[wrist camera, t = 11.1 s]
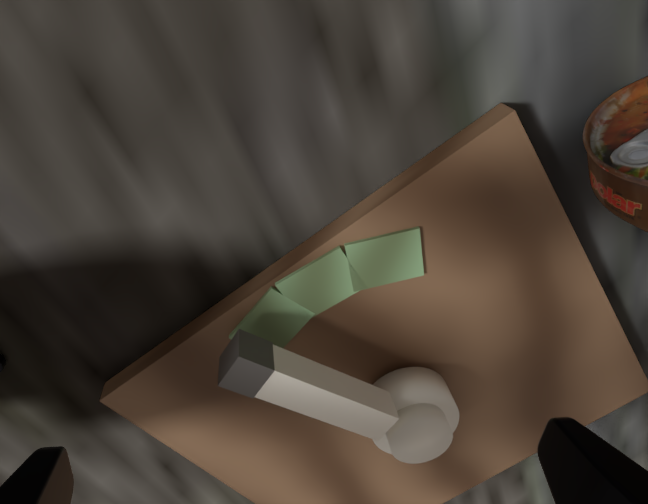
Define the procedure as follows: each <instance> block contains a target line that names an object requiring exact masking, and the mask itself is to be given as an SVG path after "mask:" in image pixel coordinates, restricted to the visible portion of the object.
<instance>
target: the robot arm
mask: <svg viewBox="0 0 648 504" xmlns="http://www.w3.org/2000/svg"><path fill="white" fill-rule="evenodd" d="M5 365H6V359H5V357H4V356H3V355H2V354H0V372H1V371H2V370H3V368H4V366H5ZM537 453H538V457H539V461H540V463H541V466H542V469H543V471H544V474H545V477H546V479H547V482H548V485H549V488H550V490H551V493H552V496H553V498H554V501H555V504H648V471H647V470H646V469H644V468H643V467H641V466H640V465H638V464H637V463H636V462H634V461H633V460H631V459H630V458H629V457H627V456H626V455H624V454H623V453H622V452H620V451H619V450H617V449H616V448H614V447H613V446H612V445H610V444H609V443H607V442H606V441H605V440H603V439H602V438H600V437H599V436H598V435H596V434H595V433H593V432H592V431H590V430H589V429H588V428H586V427H585V426H583V425H582V424H581V423H579V422H578V421H576V420H575V419H573V418H570V417H556V418H551V419H550V420H549V421H548V422H547V424H546V427H545V429H544V431H543V433H542V436H541V438H540V440H539V443H538V447H537ZM73 485H74V480H73V474H72V470H71V466H70V462H69V458H68V454H67V451H66V449H65V448H64V447H44V448H40V449H38V450H36V451H35V452H34V453H33V454H32V455H31V456H30V457H29V458H28V459H27V460H26V461H25V462H24V463H23V464H22V465H21V466H20V467H19V468H18V469H17V470H16V471H15V472H14V473H13V474H12V475H11V476H10V477H9V478H8V479H7V480H6V481H5V482H4V483H3V484H2V485H1V486H0V504H70V503H71V498H72V493H73Z"/></svg>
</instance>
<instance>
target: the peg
mask: <svg viewBox="0 0 648 504" xmlns="http://www.w3.org/2000/svg"><path fill="white" fill-rule="evenodd" d="M218 386H219V387H222V388H225V389H228V390H230V391H233V392H236V393H239V394H242V395H245V396H247V397H250V398H254V397H256V398H258V399H261V400H264V401H267V402H270V403H272V404H275V405H278V406H281V407H284V408H287V409H289V410H292V411H295V412H298V413H301V414H303V415H306V416H309V417H312V418H315V419H317V420H320V421H323V422H326V423H329V424H331V425H334V426H337V427H340V428H343V429H346V430H348V431H351V432H354V433H357V434H360V435H362V436H365V437H368V438H371V439H372V440H373V442H374V443H375V445H376V446H377V447H378V448H379V449H381V450H382V451H384V452H386V453H389V454H392V455H393V456H394V457H395V458H396V459H397V460H399V461H401V462H404V463H410V464H417V463H423V462H427V461H430V460H433V459H435V458H437V457H438V456H440V455H441V454H443V453H444V452H445V451H446V450H447V449H448V447H449V446H450V444H451V442H452V439H453V432H454V431H455V429H456V427H457V425H458V423H459V410H458V407H457V405H456V403H455V401H454V399H453V397H452V395H451V393H450V391H449V389H448V387H447V384H446V382H445V381H444V379H443V378H442V377H441V375H439V374H438V373H437V372H435V371H433V370H431V369H428V368H424V367H406V368H401V369H397V370H394V371H392V372H390V373H388V374H386V375H384V376H382V377H381V378H379V379H378V380H377V381H376V382H375V383H374V384H373V385H371V384H369V383H366V382H364V381H361V380H359V379H356V378H354V377H352V376H349V375H347V374H344V373H342V372H339V371H337V370H334V369H332V368H330V367H327V366H325V365H322V364H320V363H317V362H315V361H312V360H310V359H308V358H305V357H303V356H300V355H298V354H295V353H293V352H290V351H288V350H285V349H283V348H281V347H278V346H276V345H273V343H272V342H270V341H268V340H265V339H263V338H261V337H258V336H256V335H253V334H251V333H248V332H246V331H243V330H241V329H238V331H237V332H236V334H235V335H234V337H233V338H232V340H231V341H230V342H229V344H228V345H227V347H226V348H225V350H224V351H223V352H222V354H221V355H220V357H219V372H218Z"/></svg>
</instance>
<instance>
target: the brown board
mask: <svg viewBox="0 0 648 504" xmlns="http://www.w3.org/2000/svg"><path fill="white" fill-rule="evenodd" d="M238 329H241V330H243V331H246V332H248V333H251V334H253V335H256V336H258V337H261V338H263V339H265V340H268V341H270V342H272V343H273V345H276V346H278V347H281V348H283V349H285V350H288V351H290V352H293V353H295V354H298V355H300V356H303V357H305V358H308V359H310V360H312V361H315V362H317V363H320V364H322V365H325V366H327V367H330V368H332V369H334V370H337V371H339V372H342V373H344V374H347V375H349V376H352V377H354V378H356V379H359V380H361V381H364V382H366V383H369V384H371V385H373V384H374V383H375V382H376V381H377V380H378V379H379V378H381V377H382V376H384V375H386V374H388V373H390V372H392V371H394V370H397V369H401V368H406V367H424V368H428V369H431V370H433V371H435V372H437V373H438V374H439V375H441V377H442V378H443V379H444V381H445V382H446V384H447V387H448V389H449V391H450V393H451V395H452V397H453V399H454V401H455V403H456V405H457V407H458V410H459V423H458V425H457V427H456V429H455V431H454V432H453V439H452V442H451V444H450V446H449V447H448V449H447V450H446V451H445V452H444V453H443V454H441V455H440V456H438V457H437V458H435V459H433V460H430V461H427V462H423V463H417V464H410V463H404V462H401V461H399V460H397V459H396V458H395V457H394V456H393V455H392V454H389V453H386V452H384V451H382V450H381V449H379V448H378V447H377V446H376V445H375V443H374V442H373V440H372V439H371V438H368V437H365V436H362V435H360V434H357V433H354V432H351V431H348V430H346V429H343V428H340V427H337V426H334V425H331V424H329V423H326V422H323V421H320V420H317V419H315V418H312V417H309V416H306V415H303V414H301V413H298V412H295V411H292V410H289V409H287V408H284V407H281V406H278V405H275V404H272V403H270V402H267V401H264V400H261V399H258V398H256V397H254V398H250V397H247V396H245V395H242V394H239V393H236V392H233V391H230V390H228V389H225V388H222V387H219V386H218V372H219V357H220V355H221V354H222V352H223V351H224V350H225V348H226V347H227V345H228V344H229V342H230V341H231V340H232V338H233V337H234V335H235V334H236V332H237V331H238ZM647 392H648V380H647V378H646V376H645V374H644V372H643V370H642V368H641V366H640V364H639V362H638V359H637V357H636V355H635V353H634V351H633V349H632V347H631V345H630V343H629V341H628V339H627V337H626V335H625V333H624V331H623V329H622V327H621V325H620V323H619V321H618V319H617V317H616V315H615V313H614V311H613V309H612V307H611V305H610V303H609V300H608V298H607V296H606V294H605V292H604V290H603V288H602V286H601V284H600V282H599V280H598V278H597V276H596V274H595V272H594V270H593V268H592V266H591V264H590V262H589V260H588V258H587V256H586V254H585V252H584V250H583V248H582V246H581V244H580V242H579V239H578V237H577V235H576V233H575V231H574V229H573V227H572V225H571V223H570V221H569V219H568V217H567V215H566V213H565V211H564V209H563V207H562V205H561V203H560V201H559V199H558V197H557V195H556V193H555V191H554V189H553V187H552V185H551V183H550V181H549V178H548V176H547V174H546V172H545V170H544V168H543V166H542V164H541V162H540V160H539V158H538V156H537V154H536V152H535V150H534V148H533V146H532V144H531V142H530V140H529V138H528V136H527V134H526V132H525V130H524V128H523V126H522V124H521V122H520V120H519V117H518V115H517V113H516V111H515V110H514V109H512V108H510V107H508V106H506V105H504V104H502V103H500V104H498V105H497V106H496V107H494V108H493V109H491V110H490V111H488V112H487V113H486V114H484V115H483V116H481V117H480V118H479V119H477V120H476V121H474V122H473V123H471V124H470V125H469V126H467V127H466V128H464V129H463V130H462V131H460V132H459V133H457V134H456V135H455V136H453V137H452V138H450V139H449V140H447V141H446V142H445V143H443V144H442V145H440V146H439V147H438V148H436V149H435V150H433V151H432V152H430V153H429V154H428V155H426V156H425V157H423V158H422V159H421V160H419V161H418V162H416V163H415V164H413V165H412V166H411V167H409V168H408V169H406V170H405V171H404V172H402V173H401V174H399V175H398V176H397V177H395V178H394V179H392V180H391V181H389V182H388V183H387V184H385V185H384V186H382V187H381V188H380V189H378V190H377V191H375V192H374V193H372V194H371V195H370V196H368V197H367V198H365V199H364V200H363V201H361V202H360V203H358V204H357V205H355V206H354V207H353V208H351V209H350V210H348V211H347V212H346V213H344V214H343V215H341V216H340V217H339V218H337V219H336V220H334V221H333V222H331V223H330V224H329V225H327V226H326V227H324V228H323V229H322V230H320V231H319V232H317V233H316V234H314V235H313V236H312V237H310V238H309V239H307V240H306V241H305V242H303V243H302V244H300V245H299V246H297V247H296V248H295V249H293V250H292V251H290V252H289V253H288V254H286V255H285V256H283V257H282V258H280V259H279V260H278V261H276V262H275V263H273V264H272V265H271V266H269V267H268V268H266V269H265V270H264V271H262V272H261V273H259V274H258V275H256V276H255V277H254V278H252V279H251V280H249V281H248V282H247V283H245V284H244V285H242V286H241V287H239V288H238V289H237V290H235V291H234V292H232V293H231V294H230V295H228V296H227V297H225V298H224V299H222V300H221V301H220V302H218V303H217V304H215V305H214V306H213V307H211V308H210V309H208V310H207V311H206V312H204V313H203V314H201V315H200V316H198V317H197V318H196V319H194V320H193V321H191V322H190V323H189V324H187V325H186V326H184V327H183V328H181V329H180V330H179V331H177V332H176V333H174V334H173V335H172V336H170V337H169V338H167V339H166V340H164V341H163V342H162V343H160V344H159V345H157V346H156V347H155V348H153V349H152V350H150V351H149V352H148V353H146V354H145V355H143V356H142V357H140V358H139V359H138V360H136V361H135V362H133V363H132V364H131V365H129V366H128V367H126V368H125V369H123V370H122V371H121V372H119V373H118V374H116V375H115V376H114V377H112V378H111V379H109V380H108V381H106V382H105V385H104V388H103V391H102V394H101V397H100V400H99V401H100V402H101V403H103V404H104V405H106V406H108V407H109V408H111V409H112V410H114V411H115V412H117V413H118V414H120V415H121V416H123V417H124V418H126V419H127V420H129V421H130V422H132V423H133V424H135V425H136V426H138V427H140V428H141V429H143V430H144V431H146V432H147V433H149V434H150V435H152V436H153V437H155V438H156V439H158V440H159V441H161V442H162V443H164V444H165V445H167V446H168V447H170V448H171V449H173V450H175V451H176V452H178V453H179V454H181V455H182V456H184V457H185V458H187V459H188V460H190V461H191V462H193V463H194V464H196V465H197V466H199V467H200V468H202V469H203V470H205V471H207V472H208V473H210V474H211V475H213V476H214V477H216V478H217V479H219V480H220V481H222V482H223V483H225V484H226V485H228V486H229V487H231V488H232V489H234V490H235V491H237V492H238V493H240V494H242V495H243V496H245V497H246V498H248V499H249V500H251V501H252V502H254V503H255V504H443V503H444V502H446V501H448V500H450V499H452V498H454V497H455V496H457V495H459V494H461V493H463V492H465V491H467V490H468V489H470V488H472V487H474V486H476V485H478V484H479V483H481V482H483V481H485V480H487V479H489V478H490V477H492V476H494V475H496V474H498V473H500V472H502V471H503V470H505V469H507V468H509V467H511V466H513V465H514V464H516V463H518V462H520V461H522V460H524V459H525V458H527V457H529V456H531V455H533V454H535V453H537V447H538V443H539V440H540V438H541V436H542V433H543V431H544V429H545V427H546V424H547V422H548V421H549V420H550V419H551V418H556V417H570V418H573V419H575V420H576V421H578V422H579V423H581V424H582V425H583V426H586V425H588V424H590V423H592V422H594V421H595V420H597V419H599V418H601V417H603V416H605V415H607V414H608V413H610V412H612V411H614V410H616V409H618V408H619V407H621V406H623V405H625V404H627V403H629V402H630V401H632V400H634V399H636V398H638V397H640V396H642V395H643V394H645V393H647Z"/></svg>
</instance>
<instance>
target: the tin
mask: <svg viewBox="0 0 648 504" xmlns="http://www.w3.org/2000/svg"><path fill="white" fill-rule="evenodd" d="M583 143H584V146H585V149H586V151H587V157H588V168H589V177H590V182H591V186H592V189H593V191H594V194H595V195H596V197H597V198H598V199H599V201H600V202H601V203H602V204H603V205H604V206H605V207H606V208H607V209H608V210H609V211H611V212H612V213H613V214H615V215H616V216H618V217H620V218H621V219H623V220H625V221H627V222H628V223H630V224H632V225H634V226H636V227H638V228H640V229H642V230H644V231H646V232H648V76H647V77H645V78H643V79H640V80H638V81H636V82H634V83H632V84H630V85H627V86H625V87H624V88H622V89H620V90H618V91H617V92H615V93H613V94H612V95H611V96H609V97H608V98H607V99H605V100H604V101H603V102H602V103H601V104H600V105H598V106H597V107H596V108H595V110H594V111H593V112H592V113H591V115H590V116H589V118H588V119H587V121H586V123H585V127H584V131H583Z"/></svg>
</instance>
